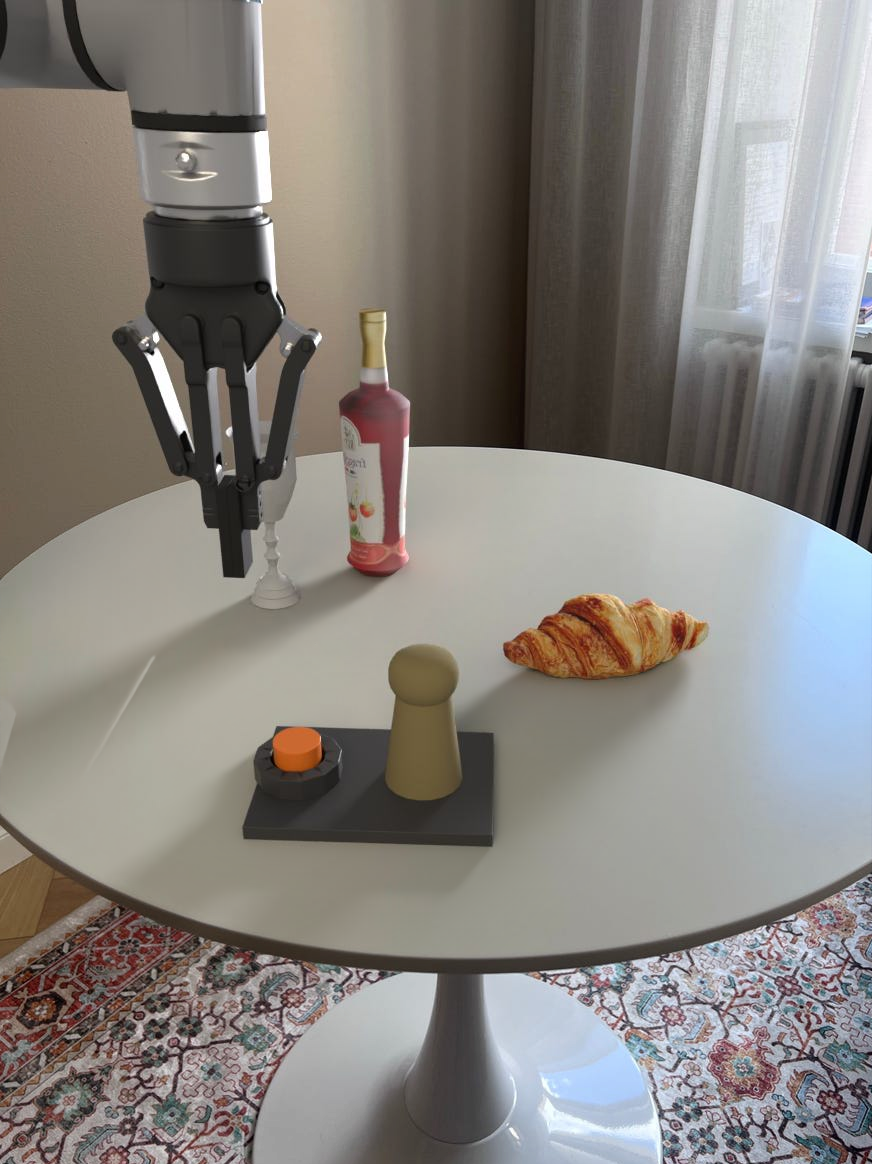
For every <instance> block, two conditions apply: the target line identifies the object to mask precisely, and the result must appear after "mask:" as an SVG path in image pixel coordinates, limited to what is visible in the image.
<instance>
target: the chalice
mask: <svg viewBox="0 0 872 1164" xmlns="http://www.w3.org/2000/svg"><path fill="white" fill-rule="evenodd" d="M271 424H272V420H259V432H260V446H261V458H262V457H265V456H266V451H267V446H268V440H269V435H270V430H271ZM299 433H300V430H299V428H298V427H296V426H295V428H294V433H293V438H292V443H291V448H290V453H289V458H288V462H287V465H286V466H285V468H284V470H283V472H282V474H281V476H280V477H279V478H278V479H276V480H267V481H264V482H262V497H263V512H264V516H263V519H262V522H261V523H263V524H264V526H265V527H264V528H265V532H264V536H263V538H262V540H263V542H264V543H265V545H266V552H265V553H264V554H263V558H264V559H265V560H266V561H267V564H268V570H267V571H266V572H265V574H263V575H261V576H260V577H259V579H257V581H256V583H255V584H256V585H255V586H254V589H253V593H252V595H251V597H250V601H251V603H252V604H253V605H254V606H256V607H258V608H260V609H267V610H278V609H280V610H281V609H285V608H289V607H292V606H293V605H295V604H297V603H298V602H299V601H300V598H301V596H300V593H299V592H298V591H297V589H296V588H297V587H296V585H294V583H293V580H292V579H291V578H290V576H289V575H287V574H285V573H284V572H281V571H280V570H279V568H278V563H279V559H280V558H281V557H282V555H281V554H280V552H278V550H277V549H278V548H277V544H278V541H279V539H280V538H279V537H278V535H277V533H276V529H275V527H276V522H279V521H281V520H283V519H284V516H285V514H286V511H287V509H288V507H289V505H290V502H291V499H292V498H293V494H294V490H295V487H296V483H297V480H298V477H297V475H298V474H297V462H296V461H297V460H296V446H295V442H296V440H297V438H298V435H299ZM225 434H226V436H227V438H228V439H229V441H230V443H231V444H232V445H231V446H232V456H233V465H234V466H233V467H234V475H236V467H235V456H234V444H233V432H232V425H231V426H229V427H228V428H227V429H226V430H225Z"/></svg>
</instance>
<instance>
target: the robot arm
mask: <svg viewBox="0 0 872 1164" xmlns="http://www.w3.org/2000/svg"><path fill="white" fill-rule="evenodd" d="M263 1H264V0H0V89H5V90H7V89H54V90H90V91H91V90H92V91H107V92H117V93H118V92H119V93H121V92H122V93H123V92H126V94H127V99H128V103H129V104H128V105H129V110H130V116H131V117H130V119H131V128H132V136H133V143H134V145H133V146H134V152H135V161H136V169H137V177H138V185H139V193H140V199H141V200H142V201H143V202H144V203H146V204H147V205H150V206H152V210H150V211H148V212H146V214H145V217H143V218H142V225H143V233H144V234H143V235H144V242H145V252H146V259H147V268H148V276H149V282H150V285H149V286H150V287H149V292H148V295H147V297H146V299H145V303H144V310H145V312H144V313H143V314H141V315H140V316H139V317H137V318H135V319H134V320H129V321H127V322H125V323H124V324H122V325H121V326H119V327H118V328H117V329H115V330H114V331H113V332H112V335H111V340H112V342H113V344H114V346H115V347H116V348H117V350H119V352H120V353H121V355H122V356H123V357H124V358H125V360H126V361H127V362H128V364H129V365H130V366H131V368H132V370H133V373H134V377H135V379H136V382H137V385H138V387H139V390H140V393H141V396H142V398H143V401H144V403H145V406H146V409H147V412H148V415H149V418H150V420H151V423H152V426H153V428H154V432H155V434H156V436H157V439H158V442H159V444H160V447H161V450H162V453H163V456H164V458H165V461H166V464H167V466H168V469H169V471H170V473H171V474H172V475H173V476H176V477H183V476H185V477H187V478H190V479H192V480H194V482H196V483H197V484H198V485H199V489H200V497H201V507H202V508H201V509H202V517H203V518H202V519H203V523H204V524H205V527H206V528H207V529H215V530H217V529H218V535H219V546H220V556H221V568H222V577H223V578H226V579H227V578H231V579H245V578H246V576H248V572H249V571H250V569H251V567H252V565H253V563H254V559H253V544H252V533H251V531H258V530H259V528H260V525H261V524H262V523H263V522H262V519H263V516H264V512H263V497H262V482H264V481H267V480H276V479H278V478H279V477H280V476H281V474H282V472H283V470H284V468H285V466H286V465H287V462H288V458H289V453H290V448H291V443H292V438H293V433H294V428H295V427H296V423H297V422H296V421H297V416H298V411H299V407H300V401H301V397H302V392H303V387H304V382H305V377H306V371H307V368H308V367H307V366H308V364H309V362H310V361H311V360H312V358H313V356H314V354H315V353H316V351H317V350H318V348H319V347H320V345H321V344H322V341H323V337H322V333H321V332H320V331H319V330H318V329H316V328H314V327H313V328H312V327H311V328H310V327H309V328H308V329H307V328H305V327H304V326H303V325H302V324H300V323H299V322H297V321H296V320H295V319H293V318H291V317H290V316H288V315H287V309H286V308H287V307H286V304H285V302H284V300H283V298H282V296H281V295H280V293H279V289H278V286H277V276H276V275H277V271H276V255H275V253H276V252H275V239H274V237H275V236H274V222H273V219H272V218H270V215H269V214H268V213H266V212H264V211H263V207H265V206H267V205H268V204H269V203H270V202H271V201H272V199H273V197H272V182H271V181H272V179H271V167H270V166H271V165H270V149H269V148H270V147H269V132H268V130H267V129H268V123H267V116H266V98H265V96H266V91H265V71H264V69H265V68H264V47H263V43H264V42H263V21H262V5H263ZM158 333H159V334H160V335H161V336H162V337H163V339H164V340H165V341H166V343H168V346H169V347H170V348H171V349H172V350H173V351H174V353H175V354H176V355H177V356H178V357H179V359H180V360H181V361H182V362H183V372H184V380H185V381H184V382H185V384H186V385H187V387H188V388H187V389H188V397H189V408H190V409H189V410H190V419H191V429H192V438H191V435H190V432H189V428H188V426H187V423H186V421H185V418H184V415H183V412H182V409H181V406H180V403H179V400H178V398H177V395H176V392H175V389H174V386H173V383H172V381H171V377H170V375H169V372H168V369H167V367H166V363H165V361H164V357H163V356H162V353H161V351H160V349H159V348H158V347H159V346H160V337H159V334H158ZM276 334H278V336H279V339H280V344H279V352H280V354H281V356H282V357H284V359H286V360H285V361H284V364H283V366H282V369H281V372H280V376H279V383H278V386H277V387H278V388H277V391H276V398H275V403H274V409H273V414H272V420H271V421H272V424H271V430H270V435H269V440H268V446H267V451H266V456H265V457H262V458H261V446H260V432H259V421H260V419H259V406H258V405H259V404H258V393H257V372H258V369H257V361H258V360H259V359H260V357H261V356H262V354H264V352H265V350H266V349H267V347H268V346H269V344H270V343H271V341H272V340H273V338H274V337H275V335H276ZM218 368H219V369H222V370H224V373H225V382H226V386H227V388H228V395H229V405H230V406H229V407H230V418H231V426H232V432H233V444H234V456H235V467H236V475H235V474H224V473H223V471H224V470H225V469H226V467H227V462H224V461H225V460H224V450H223V441H222V426H221V415H220V404H219V403H220V402H219V394H218V393H219V392H218V380H217V375H218ZM192 439H193V441H192ZM235 467H234V468H235Z"/></svg>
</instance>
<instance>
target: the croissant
mask: <svg viewBox="0 0 872 1164" xmlns="http://www.w3.org/2000/svg"><path fill="white" fill-rule="evenodd" d="M710 628H711V627H710V625H709V624H708V622H707V621H698V619H697V618H695V617H693V616H691V614H689V613H687V612H686V611H684V610H681V609H680V610H678V611H673V612H672V611H670V610H669V609H667V608H665V607H661V606H659V605H658V604H657V603H656V602H653V600H651V599H650V598H648V597H645V598H642V599H639V600H637V601H635V602H634V603H632V604H628V605H627V604H625V603H624V602H623V601H622V600H621V599H620V598H619V597H617V596H615V595H612V594H610V593H596V592H591V593H582V594H580V595H578V596H576V597H573V598H571V599H569V600H566V601H564V603H563V605H562V607H561V608H560V609H559V610H558V611H557V612H556V613H553V614H548V615H546V616H544V617H543V619H541V621H540V623H539V625H538V626H537V629H536V628H533V627H530V628H528V629H526V630H524V631H521V632H520V633H519V634H517V635H516V637H514V638H512V640H509V641H508V640H507V641H506V642H503V643H502V644H503V645H502V650H503V651H502V652H503V655H504V657H505V658H507V660H508V661H509V662H511V663H512V664H514V665H519V666H522V667H526V668H531V669H532V670H537V671H540V672H541V673H543V674H545V675H548V676H552V677H557V678H560V679H565V678H582V679H586V680H587V679H588V680H600V679H603V680H604V679H608V678H614V677H627V676H633V675H637V674H640V673H644V672H646V671H649V670H650V669H652V668H654V667H656V666H657V665H659V664H660V663H664V662H665V663H666V662H668V661H670V660H672V659H674V658H676V657H677V656H678V655H680V654H681V653H682V652H684V651H690V650H692V649H694V648H696V647H697V646H699V645H700V644H702V643H703V642H704V641H705V640H706V638H707V637H708V636H709V632H710Z"/></svg>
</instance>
